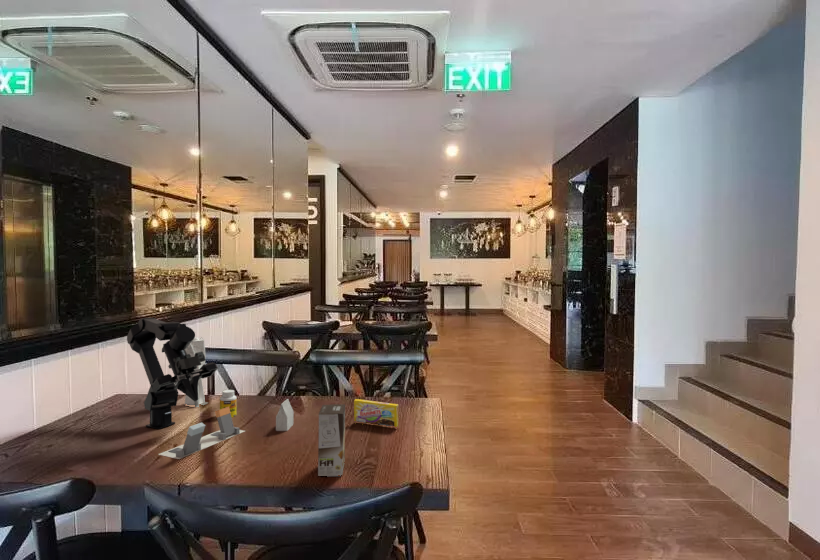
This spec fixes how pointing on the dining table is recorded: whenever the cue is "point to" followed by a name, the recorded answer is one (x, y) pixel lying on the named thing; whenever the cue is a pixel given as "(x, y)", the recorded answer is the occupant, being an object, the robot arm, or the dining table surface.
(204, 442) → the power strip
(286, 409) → the grey house block
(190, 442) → the lever
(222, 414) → the lever
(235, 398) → the supplement bottle
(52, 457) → the dining table surface
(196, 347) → the skyscraper
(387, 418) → the candy box
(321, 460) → the coffee box
